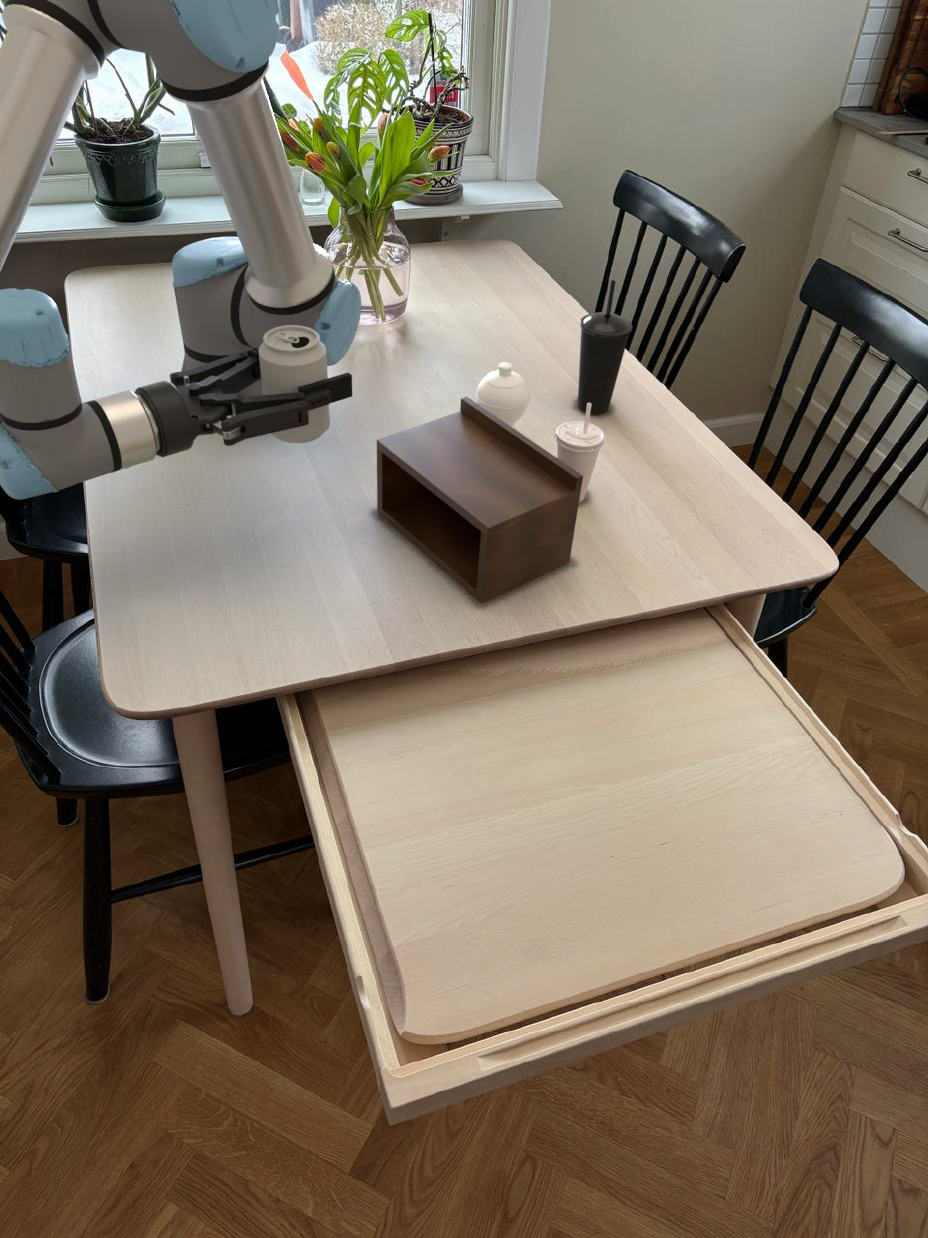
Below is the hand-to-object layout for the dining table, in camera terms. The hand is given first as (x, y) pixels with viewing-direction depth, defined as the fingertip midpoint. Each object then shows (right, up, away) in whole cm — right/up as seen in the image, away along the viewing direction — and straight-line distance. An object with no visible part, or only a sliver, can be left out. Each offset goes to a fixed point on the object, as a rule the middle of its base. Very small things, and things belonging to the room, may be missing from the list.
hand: (331, 369), depth 112 cm
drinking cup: (+36, +4, +37) cm, 52 cm away
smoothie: (+30, -12, +19) cm, 37 cm away
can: (-4, -7, +2) cm, 8 cm away
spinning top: (+21, -3, +28) cm, 35 cm away
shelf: (+16, -19, +10) cm, 27 cm away
